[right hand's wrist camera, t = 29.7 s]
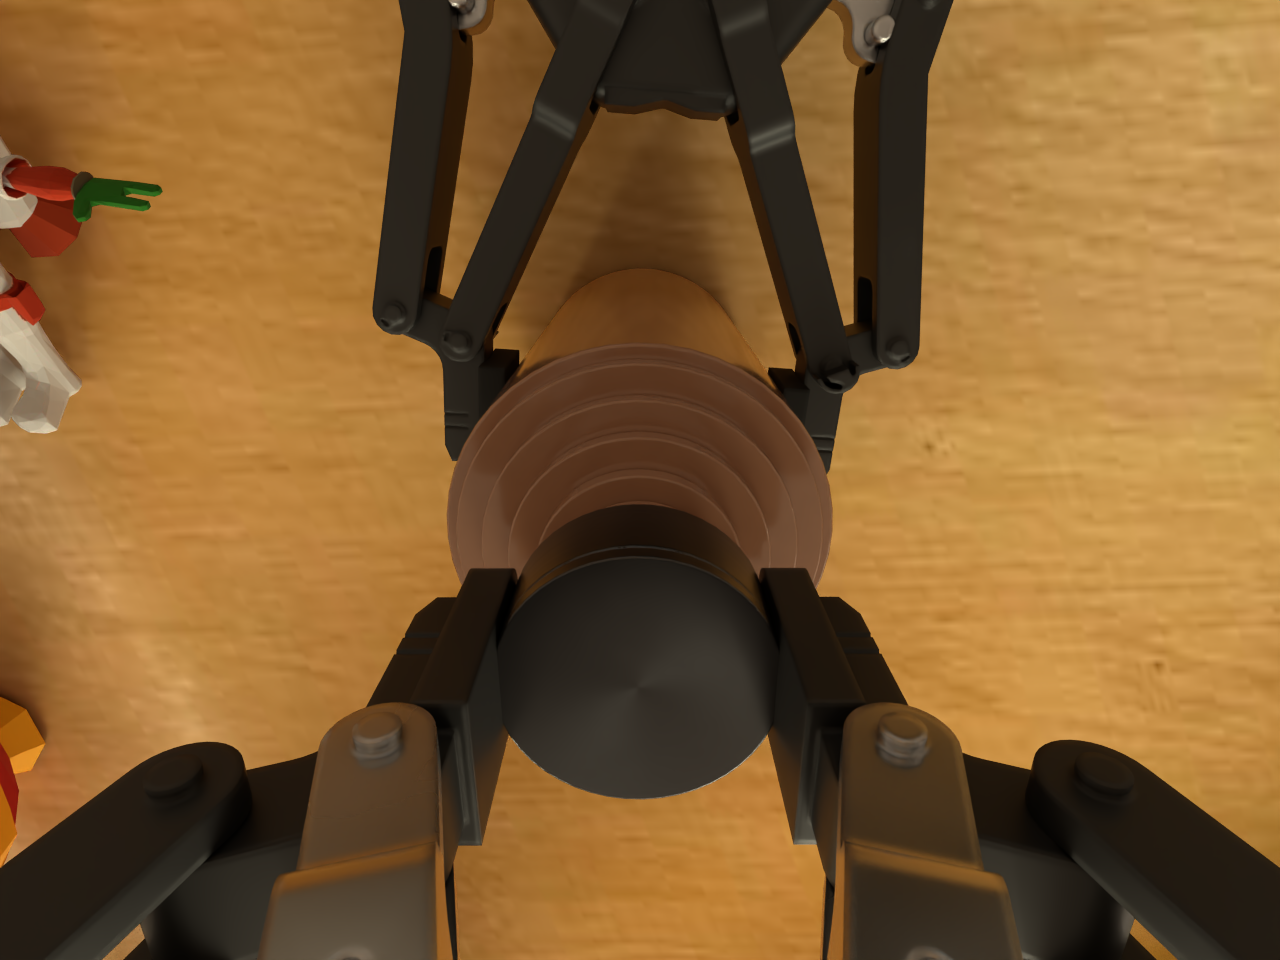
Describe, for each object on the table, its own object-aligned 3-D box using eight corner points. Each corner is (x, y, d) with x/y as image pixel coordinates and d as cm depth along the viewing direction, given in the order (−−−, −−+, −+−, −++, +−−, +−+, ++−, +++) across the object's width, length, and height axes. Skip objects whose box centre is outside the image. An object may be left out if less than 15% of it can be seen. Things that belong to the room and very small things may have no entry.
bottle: (561, 480, 31) (446, 876, 13) (521, 285, 28) (303, 449, 10) (751, 453, 30) (907, 827, 12) (731, 252, 27) (896, 364, 10)
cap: (473, 662, 13) (446, 735, 11) (581, 457, 11) (569, 505, 9) (687, 753, 13) (693, 837, 12) (813, 571, 12) (842, 635, 10)
